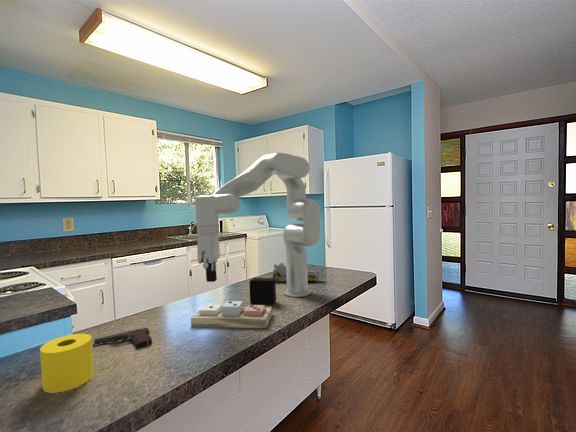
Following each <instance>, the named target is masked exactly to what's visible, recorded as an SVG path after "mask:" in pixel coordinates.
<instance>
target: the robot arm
mask: <svg viewBox="0 0 576 432" xmlns="http://www.w3.org/2000/svg"><path fill="white" fill-rule="evenodd" d="M310 169H311V168H310V164H309V161H308V160H307V159H305V158H304V157H302V156H298V155H294V154H289V153H285V152H274V153H273V152H272V153H267V154H264V155H262V156H261V157H260V158H258V159H257V160H256V161H255V162H254V163H253V164H252V165H250V166H249V167H248V168H247V169H246V170H244V171H243V172H242V173H241V174H239V175H238V176H236V177H234V178H233V179H231V180H230V181H228V182H227V183H225V184H224V185H222V186H221V187H220V188H218V189H217V190H216V191H215V192H213V194H211V195H209V194H207V195H198V196H196V197H195V200H194V204H195V206H194V207H195V218H196V219H195V220H196V232H197V247H196V248H197V250H196V251H197V263H198V264H199V265H200V264H202V268H203V269H204V270H205V275H206V276H205V277H206V282H207V283H212V282H214V283H215V282H216V281H217V279H218V278H217V262H218V260H219V259H220V258H221V257H220V256H221V249H220V242H219V240H220V239H219V234H220V226H219V224H220V223H219V215H232V214H233V215H234V214H235V213H237V212H238V211H239V209H240V207H241V200H240V197H243V196H245V195H248V194H251V193H254V192H256V191H257V190H258V189H260V188H261V186H262V185H264V184H265V183H266V182H267V181H268V180H269V179H270V178H271V177H272V176H274V175H275V176H276V175H277V177H278V178H279V179H280V180H281V181H282V183H283V184H284V185H285V188H286V215H287V218H289V219H290V221H297V222H301V221H302V223H290V224H287V225H286V226H285V227H284V229H283V233H282V236H283V241H284V247H285V265H286V272H287V274H286V275H287V281H286V288H285V289H284V290H283V294H284V296H287V297H291V298H292V297H293V298H300V297H301V298H302V297H307V296H310V295H311V294H312V289H311V288H309V285H308V275H307V270H308V252H307V249H306V247H314V246H316V245H317V244H318V243H319V241H320V236H321V207H320V205H319V203H318V202H317V201H316V200H314V199H311V198H307V195H306V194H307V193H306V192H307V191H306V190H307V189H306V185H305V183H304V181H303V180H302V179H303V178H305V177H307V175H308V174H310Z"/></svg>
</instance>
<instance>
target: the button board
mask: <svg viewBox="0 0 576 432" xmlns="http://www.w3.org/2000/svg"><path fill="white" fill-rule="evenodd" d="M247 307H248V306H244V305H243V311H242V312H241V314H240V315H239V316H222V311H221V312H220V313H219V314H218V315H217V316H215V315H200V310H201V309H202V308H200V309H199V310H198V311H197V312H196V313H194V315H192V316H191V317H190V325H191V326H190V327H197V328H198V327H199V328H200V327H201V328H202V327H204V328H243V329H244V328H245V329H250V328H253V329H267V326H268V325H269V322H270V321H271V318H272V316H273V307H272V306H265V313H264V315H263V316H245V315H244V311H245V309H246V308H247Z"/></svg>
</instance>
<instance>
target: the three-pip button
mask: <svg viewBox="0 0 576 432" xmlns="http://www.w3.org/2000/svg"><path fill="white" fill-rule="evenodd" d="M265 307H266V305H258V304H248V307H247V308H246V309H245V311H244V315H245V316H263V315H264V313H265Z"/></svg>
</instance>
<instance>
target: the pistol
mask: <svg viewBox="0 0 576 432" xmlns="http://www.w3.org/2000/svg"><path fill="white" fill-rule="evenodd" d="M118 340H121V341H118ZM122 340H123V341H122ZM152 340H153V339H152V337H151V335H150V330H149V328H148V327H141V328H136V329H132V330H128V331H124V332H119V333H115V334H110V335H106V336H102V337H98V338H95V339H94V340H93V344H94V345H95V344H100V343H107V342H111V343H110V344H111V345H112V346H118V345H123V344H128V343H127V342H130V343H133V345H134V346H135V349H136V348H137V349H140V347H141V348H145V346H146V347H149V346H150V345H151V344H152V345H153V341H152ZM115 341H118V342H115ZM117 344H118V345H117ZM152 345H151V346H152Z"/></svg>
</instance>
